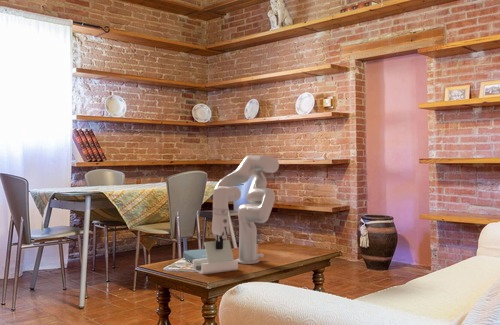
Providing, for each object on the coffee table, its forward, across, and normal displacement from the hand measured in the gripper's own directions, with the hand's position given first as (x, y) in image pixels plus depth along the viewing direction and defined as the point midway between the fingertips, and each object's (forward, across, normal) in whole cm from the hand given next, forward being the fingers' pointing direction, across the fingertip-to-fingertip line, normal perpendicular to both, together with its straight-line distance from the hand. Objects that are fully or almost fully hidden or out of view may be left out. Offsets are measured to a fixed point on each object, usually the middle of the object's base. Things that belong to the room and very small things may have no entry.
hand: (219, 249), depth 237 cm
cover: (+2, +1, 0) cm, 2 cm away
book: (+12, +23, -5) cm, 27 cm away
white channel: (+11, +4, 0) cm, 12 cm away
